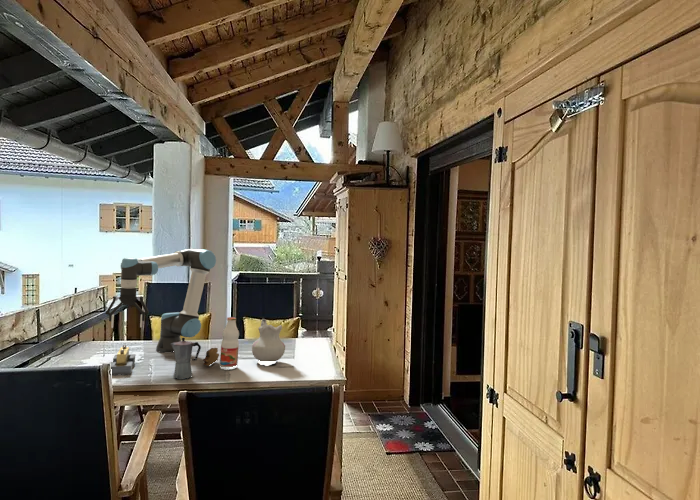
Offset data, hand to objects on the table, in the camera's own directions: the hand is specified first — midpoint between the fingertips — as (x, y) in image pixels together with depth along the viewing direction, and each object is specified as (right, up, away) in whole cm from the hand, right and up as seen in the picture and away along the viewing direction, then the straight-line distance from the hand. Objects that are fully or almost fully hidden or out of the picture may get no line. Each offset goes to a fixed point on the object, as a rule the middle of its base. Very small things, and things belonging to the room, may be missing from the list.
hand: (126, 327), depth 231 cm
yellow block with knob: (-1, -20, -3) cm, 20 cm away
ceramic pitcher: (+69, -26, +27) cm, 78 cm away
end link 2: (+1, -21, -9) cm, 23 cm away
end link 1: (-4, -21, +4) cm, 22 cm away
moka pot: (+34, -24, -9) cm, 42 cm away
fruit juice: (+51, -25, +11) cm, 57 cm away
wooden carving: (+40, -24, +13) cm, 48 cm away
